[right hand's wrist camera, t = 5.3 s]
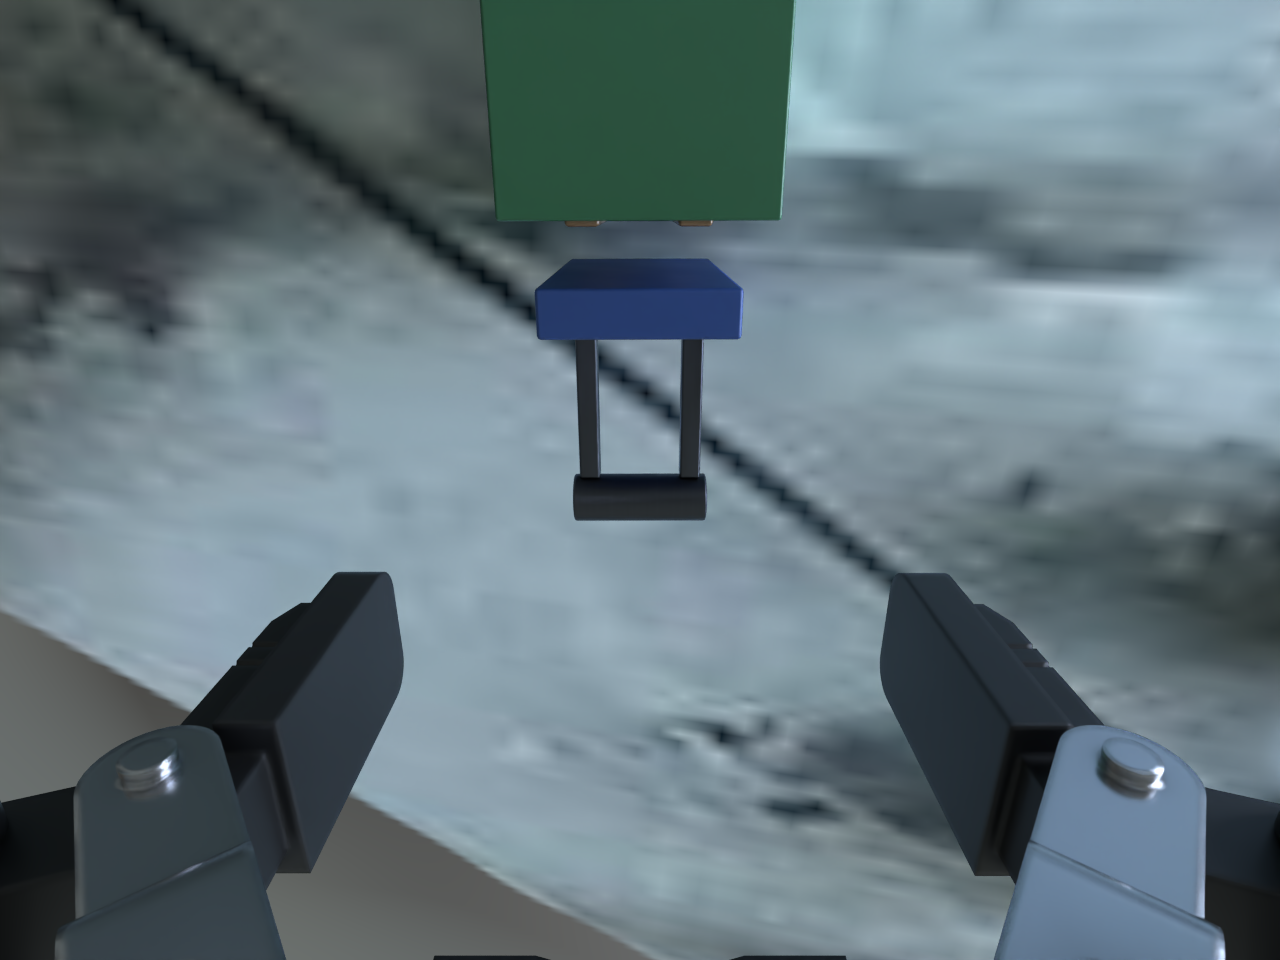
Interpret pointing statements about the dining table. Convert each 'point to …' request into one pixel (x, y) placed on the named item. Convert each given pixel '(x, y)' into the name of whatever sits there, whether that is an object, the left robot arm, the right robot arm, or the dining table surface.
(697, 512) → the drawer
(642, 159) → the cabinet
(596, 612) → the dining table surface
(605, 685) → the dining table surface
